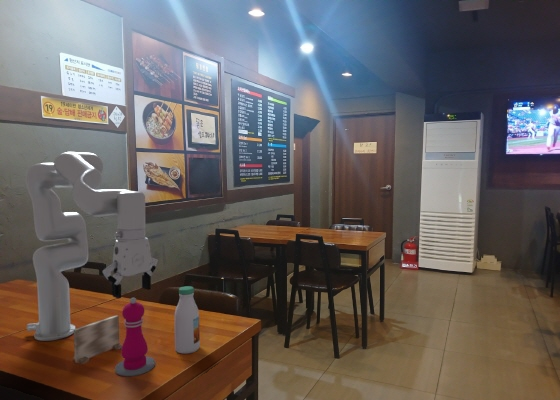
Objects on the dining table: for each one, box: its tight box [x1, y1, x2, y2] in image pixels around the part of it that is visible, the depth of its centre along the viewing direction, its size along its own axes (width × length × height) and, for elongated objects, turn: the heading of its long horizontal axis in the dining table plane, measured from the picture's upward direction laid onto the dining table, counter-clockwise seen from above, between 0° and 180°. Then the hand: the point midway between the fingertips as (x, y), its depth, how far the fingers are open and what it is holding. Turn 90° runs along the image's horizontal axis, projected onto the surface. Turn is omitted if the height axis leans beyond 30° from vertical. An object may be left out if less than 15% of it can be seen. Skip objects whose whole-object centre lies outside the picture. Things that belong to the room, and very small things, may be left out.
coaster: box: [114, 355, 156, 377], centre depth 113 cm, size 11×11×1 cm
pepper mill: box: [120, 297, 149, 370], centre depth 112 cm, size 7×7×20 cm
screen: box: [72, 314, 123, 365], centre depth 121 cm, size 14×5×10 cm, turn 146°
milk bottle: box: [174, 285, 201, 355], centre depth 124 cm, size 8×8×20 cm
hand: (132, 292), depth 112 cm, fingers open, 9 cm apart
